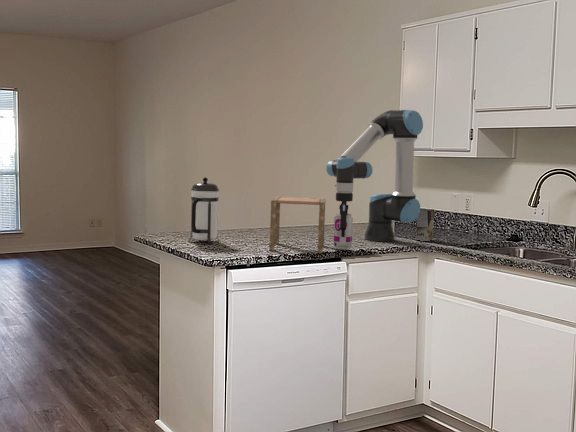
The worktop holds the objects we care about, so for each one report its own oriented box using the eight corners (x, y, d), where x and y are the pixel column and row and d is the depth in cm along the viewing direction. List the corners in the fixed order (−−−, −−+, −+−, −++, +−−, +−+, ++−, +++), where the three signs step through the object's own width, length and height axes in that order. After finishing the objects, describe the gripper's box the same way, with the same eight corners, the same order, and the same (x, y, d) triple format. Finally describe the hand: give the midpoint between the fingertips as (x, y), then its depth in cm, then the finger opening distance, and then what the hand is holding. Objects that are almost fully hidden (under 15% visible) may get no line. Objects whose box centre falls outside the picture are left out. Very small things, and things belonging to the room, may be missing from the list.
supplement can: (346, 249, 305) (347, 216, 303) (330, 247, 309) (331, 214, 307) (354, 247, 312) (355, 214, 310) (338, 245, 316) (339, 213, 314)
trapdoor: (319, 204, 318) (319, 198, 318) (318, 207, 300) (318, 201, 300) (280, 202, 319) (281, 197, 319) (277, 205, 301) (277, 200, 301)
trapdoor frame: (323, 245, 322) (325, 198, 320) (322, 253, 299) (324, 202, 297) (274, 243, 324) (276, 196, 322) (269, 250, 301) (271, 200, 299)
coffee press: (181, 240, 325) (183, 176, 322) (214, 239, 331) (216, 176, 328) (191, 245, 309) (193, 178, 306) (225, 244, 315) (227, 178, 312)
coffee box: (428, 242, 346) (430, 210, 345) (415, 241, 349) (417, 209, 347) (432, 240, 354) (434, 209, 353) (420, 239, 357) (422, 208, 356)
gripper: (336, 190, 318) (334, 238, 321) (335, 193, 297) (334, 245, 300) (352, 190, 318) (350, 239, 320) (353, 194, 297) (351, 246, 299)
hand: (342, 242), depth 310 cm, fingers closed on supplement can, 8 cm apart
